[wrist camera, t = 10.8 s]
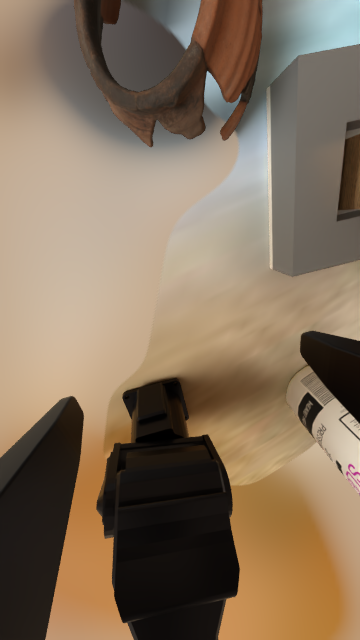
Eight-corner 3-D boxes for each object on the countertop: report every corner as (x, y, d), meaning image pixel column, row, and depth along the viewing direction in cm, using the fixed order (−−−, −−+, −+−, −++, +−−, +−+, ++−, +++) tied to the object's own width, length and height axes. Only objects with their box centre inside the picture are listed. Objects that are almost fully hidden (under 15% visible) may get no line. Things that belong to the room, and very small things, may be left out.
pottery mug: (215, 188, 18) (178, 167, 11) (125, 128, 19) (38, 74, 12) (339, -39, 12) (433, -418, 5) (197, -115, 13) (102, -540, 6)
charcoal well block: (391, 238, 22) (433, 241, 19) (269, 268, 21) (292, 276, 18) (430, 57, 16) (499, 18, 13) (266, 88, 16) (298, 55, 12)
